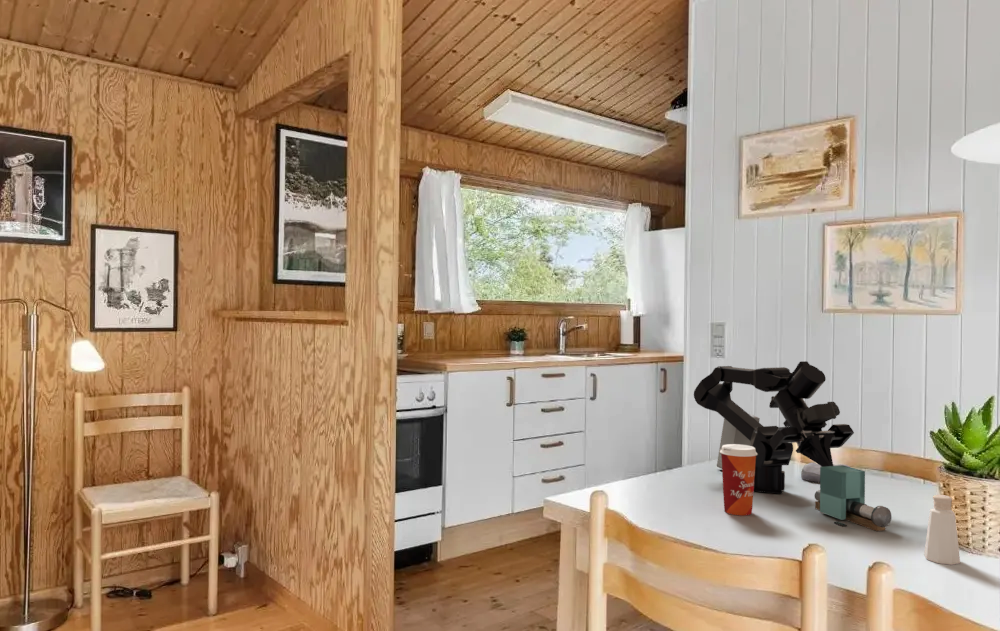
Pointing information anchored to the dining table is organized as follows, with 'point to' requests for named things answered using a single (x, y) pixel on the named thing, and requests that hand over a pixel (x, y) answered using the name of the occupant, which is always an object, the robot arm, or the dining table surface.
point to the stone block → (813, 472)
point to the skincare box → (732, 437)
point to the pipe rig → (863, 514)
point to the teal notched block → (840, 489)
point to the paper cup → (738, 478)
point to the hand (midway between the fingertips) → (831, 469)
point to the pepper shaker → (942, 533)
